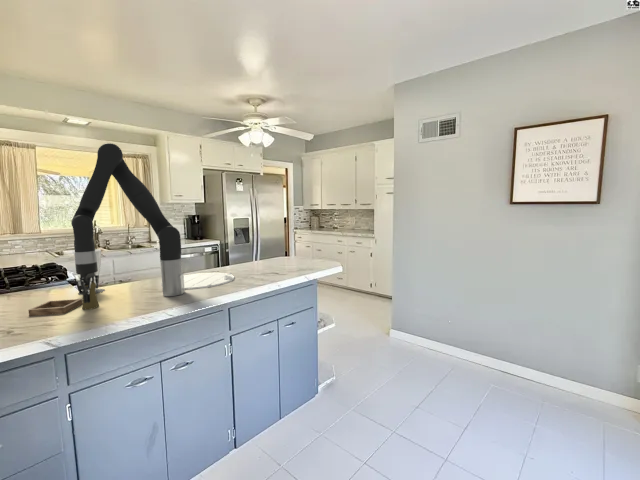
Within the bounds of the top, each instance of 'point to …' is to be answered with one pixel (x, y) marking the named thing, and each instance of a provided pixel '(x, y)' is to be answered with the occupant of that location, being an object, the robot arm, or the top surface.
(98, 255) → the cup
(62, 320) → the top surface
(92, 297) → the olive brown tapered block
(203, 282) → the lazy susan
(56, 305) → the box
